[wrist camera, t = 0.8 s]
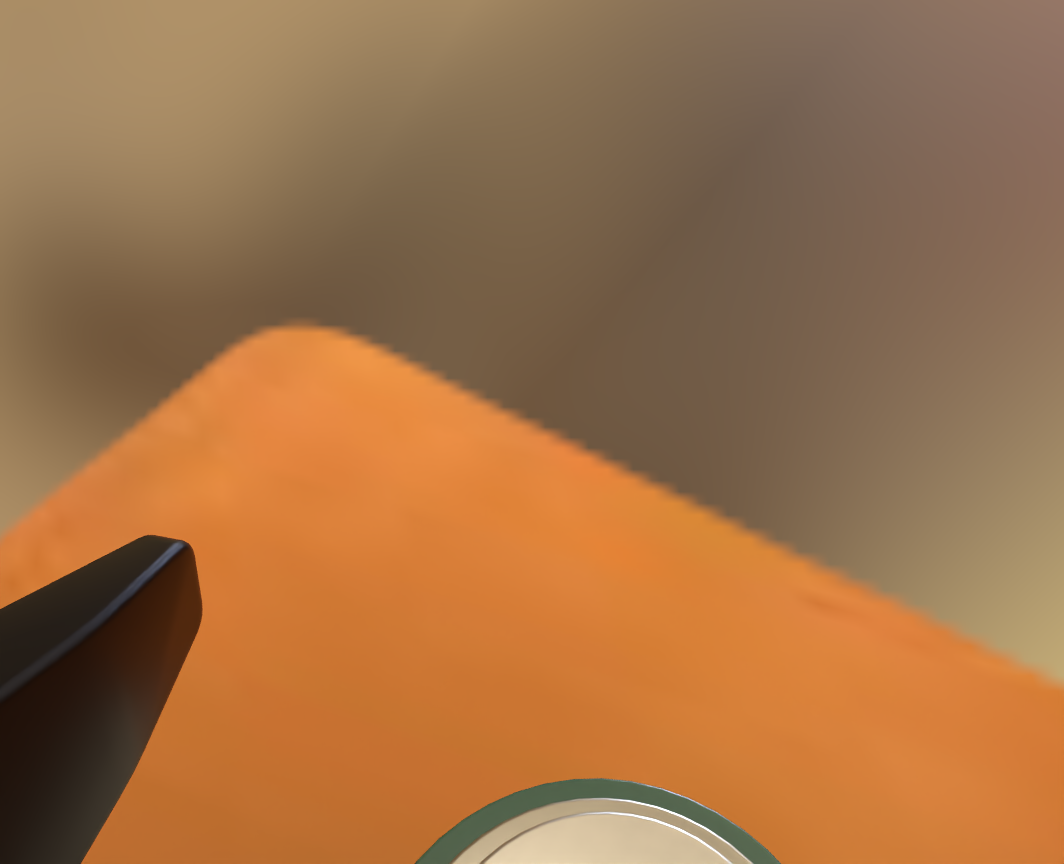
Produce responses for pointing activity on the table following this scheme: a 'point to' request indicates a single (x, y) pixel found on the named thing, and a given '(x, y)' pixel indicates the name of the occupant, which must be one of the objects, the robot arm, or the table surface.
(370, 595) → the table surface
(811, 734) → the table surface
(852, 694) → the table surface
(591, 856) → the green cylinder
